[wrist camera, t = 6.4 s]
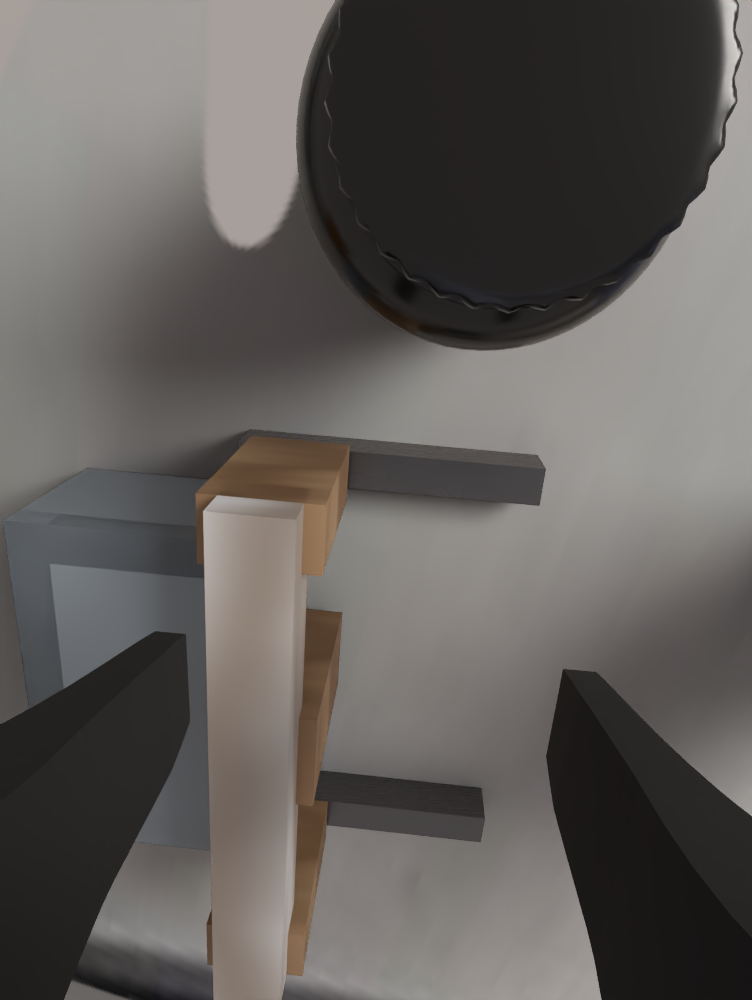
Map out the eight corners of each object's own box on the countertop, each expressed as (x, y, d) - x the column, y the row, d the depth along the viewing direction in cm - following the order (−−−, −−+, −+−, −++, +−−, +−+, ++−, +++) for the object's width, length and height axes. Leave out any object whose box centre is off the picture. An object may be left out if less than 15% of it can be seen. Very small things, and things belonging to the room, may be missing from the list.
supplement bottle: (302, 145, 18) (114, -37, 7) (520, -6, 17) (717, -541, 6) (418, 357, 20) (412, 476, 9) (624, 239, 19) (930, 205, 7)
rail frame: (537, 455, 21) (545, 468, 20) (477, 811, 26) (480, 842, 25) (250, 429, 21) (238, 441, 20) (248, 785, 27) (238, 814, 25)
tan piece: (353, 436, 20) (318, 522, 14) (329, 816, 26) (296, 1011, 19) (259, 427, 21) (180, 508, 14) (255, 808, 26) (197, 998, 19)
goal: (264, 484, 22) (223, 541, 18) (260, 750, 26) (227, 852, 22) (87, 468, 22) (2, 519, 18) (110, 734, 26) (46, 831, 22)
